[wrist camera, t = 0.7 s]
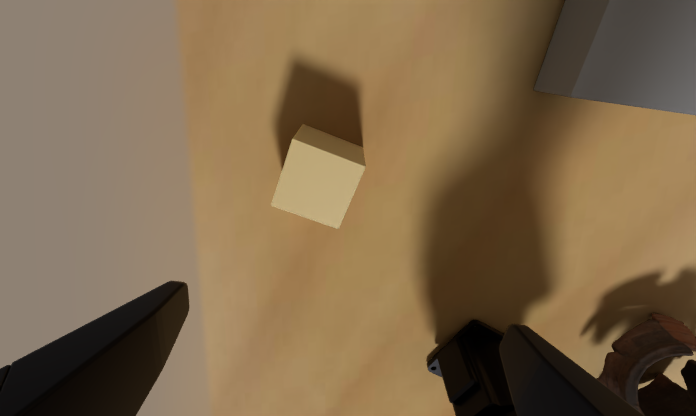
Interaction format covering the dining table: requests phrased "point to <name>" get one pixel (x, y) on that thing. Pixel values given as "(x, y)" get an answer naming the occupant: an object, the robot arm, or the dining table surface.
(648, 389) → the brown curved ring
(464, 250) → the dining table surface
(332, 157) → the brick
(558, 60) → the base brick
